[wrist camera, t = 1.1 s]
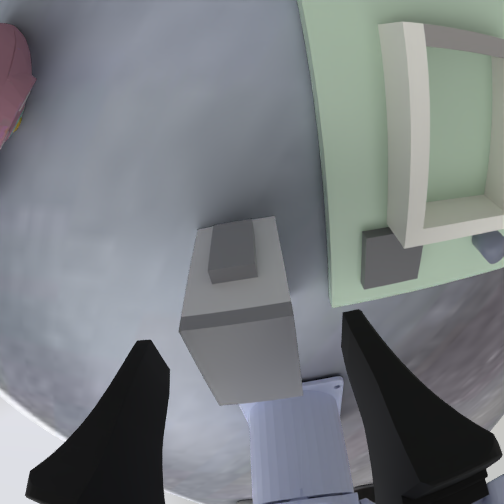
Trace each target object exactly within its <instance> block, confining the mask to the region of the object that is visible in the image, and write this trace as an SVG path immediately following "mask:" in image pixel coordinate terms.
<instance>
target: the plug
mask: <svg viewBox="0 0 504 504" xmlns="http://www.w3.org/2000/svg"><path fill="white" fill-rule="evenodd" d="M179 333H180V335H181V337H182V339H183V341H184V342H185V344H186V346H187V348H188V350H189V352H190V354H191V356H192V358H193V359H194V361H195V363H196V365H197V367H198V369H199V370H200V372H201V374H202V376H203V378H204V379H205V381H206V383H207V385H208V387H209V388H210V390H211V392H212V394H213V395H214V397H215V399H216V400H217V402H218V404H219V405H220V406H221V405H233V404H244V403H253V402H262V401H270V400H278V399H285V398H291V397H298V396H303V389H302V380H301V371H300V363H299V354H298V346H297V338H296V330H295V322H294V315H293V309H292V304H291V298H290V293H289V287H288V282H287V277H286V271H285V266H284V261H283V256H282V250H281V245H280V240H279V235H278V230H277V225H276V220H275V216H270V217H265V218H259V219H253V220H252V219H246V220H240V221H235V222H229V223H223V224H218V225H213V227H208V228H203V229H197V234H196V239H195V244H194V249H193V254H192V259H191V264H190V270H189V275H188V280H187V286H186V291H185V297H184V303H183V308H182V314H181V320H180V326H179Z"/></svg>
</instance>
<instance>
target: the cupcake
mask: <svg viewBox="0 0 504 504" xmlns="http://www.w3.org/2000/svg"><path fill="white" fill-rule="evenodd" d="M237 504H253V500H242V501H239V502H237Z"/></svg>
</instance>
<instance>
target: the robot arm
mask: <svg viewBox="0 0 504 504" xmlns="http://www.w3.org/2000/svg"><path fill="white" fill-rule="evenodd" d="M341 348H342V352H343V357H344V362H345V366H346V371H347V374H348V377H349V380H350V383H351V386H352V389H353V392H354V395H355V398H356V401H357V404H358V407H359V411H360V414H361V417H362V420H363V424H364V428H365V433H366V438H367V444H368V449H369V455H370V461H371V468H372V476H373V483H374V493H375V503H376V504H504V474H503V475H501V476H499V477H497V478H496V479H494V480H492V481H491V482H488V483H487V484H486V481H485V478H486V477H487V476H488V474H487V471H486V468H488V467H489V466H491V465H492V464H493V463H495V462H496V461H498V460H499V459H500V458H501V457H502V452H501V449H500V446H499V444H498V441H497V440H496V438H495V436H494V434H493V433H491V432H489V431H488V430H486V429H484V428H482V427H480V426H479V425H477V424H475V423H474V422H472V421H471V420H469V419H468V418H466V417H465V416H463V415H462V414H460V413H459V412H457V411H456V410H455V409H453V408H452V407H451V406H449V405H448V404H447V403H445V402H444V401H443V400H441V399H440V398H439V397H438V396H437V395H435V394H434V393H433V392H432V391H431V390H430V389H428V388H427V387H426V386H425V385H424V384H423V383H422V382H421V381H420V380H419V379H418V378H417V377H416V376H415V375H414V374H413V373H412V372H411V371H410V370H409V369H408V368H407V367H406V366H405V365H404V364H403V363H402V362H401V361H400V360H399V358H398V357H397V356H396V355H395V354H394V353H393V351H392V350H391V349H390V348H389V347H388V346H387V344H386V343H385V342H384V341H383V340H382V338H381V337H380V336H379V334H378V333H377V332H376V331H375V329H374V328H373V327H372V325H371V324H370V323H369V321H368V320H367V318H366V317H365V315H364V314H363V313H362V311H361V310H359V309H358V310H353V311H348V312H343V318H342V342H341ZM343 383H344V381H343V378H342V377H341V376H336V377H331V378H326V379H320V380H315V381H309V382H303V383H302V389H303V396H298V397H291V398H285V399H278V400H270V401H262V402H253V403H244V404H239V406H240V408H241V410H242V412H243V414H244V416H245V418H246V420H247V422H248V424H249V426H250V451H251V476H252V499H253V504H375V503H374V502H372V501H370V500H369V499H368V498H364V499H362V500H359V499H358V493H357V492H355V493H354V489H353V483H352V477H351V472H350V466H349V461H348V456H347V451H346V446H345V440H344V435H343V430H342V426H341V421H340V411H341V402H342V393H343ZM169 388H170V369H169V367H168V366H167V364H166V363H165V361H164V360H163V358H162V357H161V355H160V354H159V352H158V350H157V349H156V347H155V346H154V344H153V342H152V341H151V340H140V341H137V342H136V343H135V345H134V346H133V348H132V350H131V351H130V353H129V354H128V356H127V358H126V359H125V361H124V363H123V364H122V366H121V368H120V369H119V371H118V373H117V374H116V376H115V377H114V379H113V381H112V382H111V384H110V385H109V387H108V388H107V390H106V392H105V393H104V394H103V396H102V397H101V399H100V400H99V402H98V403H97V405H96V406H95V408H94V409H93V410H92V412H91V413H90V414H89V416H88V417H87V418H86V419H85V420H84V422H83V423H82V424H81V425H80V426H79V428H78V429H77V430H76V431H75V432H74V433H73V434H72V435H71V436H70V437H69V438H68V439H67V441H66V442H65V443H64V444H63V445H61V446H60V447H59V448H58V449H57V450H56V451H55V452H54V453H53V454H52V455H50V456H49V457H48V458H47V459H46V460H44V461H43V462H42V463H40V464H39V465H38V466H36V467H35V468H34V469H32V470H31V471H30V474H29V478H28V483H27V488H26V494H25V496H26V497H27V498H29V499H31V500H33V501H35V502H38V503H40V504H165V499H164V489H163V471H162V447H163V436H164V429H165V421H166V414H167V407H168V399H169Z"/></svg>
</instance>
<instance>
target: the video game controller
mask: <svg viewBox="0 0 504 504" xmlns="http://www.w3.org/2000/svg"><path fill="white" fill-rule="evenodd" d="M36 80H37V79H36V78H35V77H33V76H32V68H31V56H30V50H29V47H28V44H27V41H26V39H25V37H24V35H23V34H22V33H21V32H20V31H19V30H18V29H17V28H16V27H15V26H13V25H11V24H7V23H0V150H1V148H2V146H3V144H4V142H5V141H6V140H7V139H8V138H10V137H11V135H12V133H13V132H15V131H16V130H17V129H18V127H19V125H20V123H21V120H22V117H21V116H22V114H23V112H24V110H25V102H26V99H27V98H28V96H29V94H30V92H31V91H30V90H31V88H32V87H33V85H34V83H35V82H36Z"/></svg>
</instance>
